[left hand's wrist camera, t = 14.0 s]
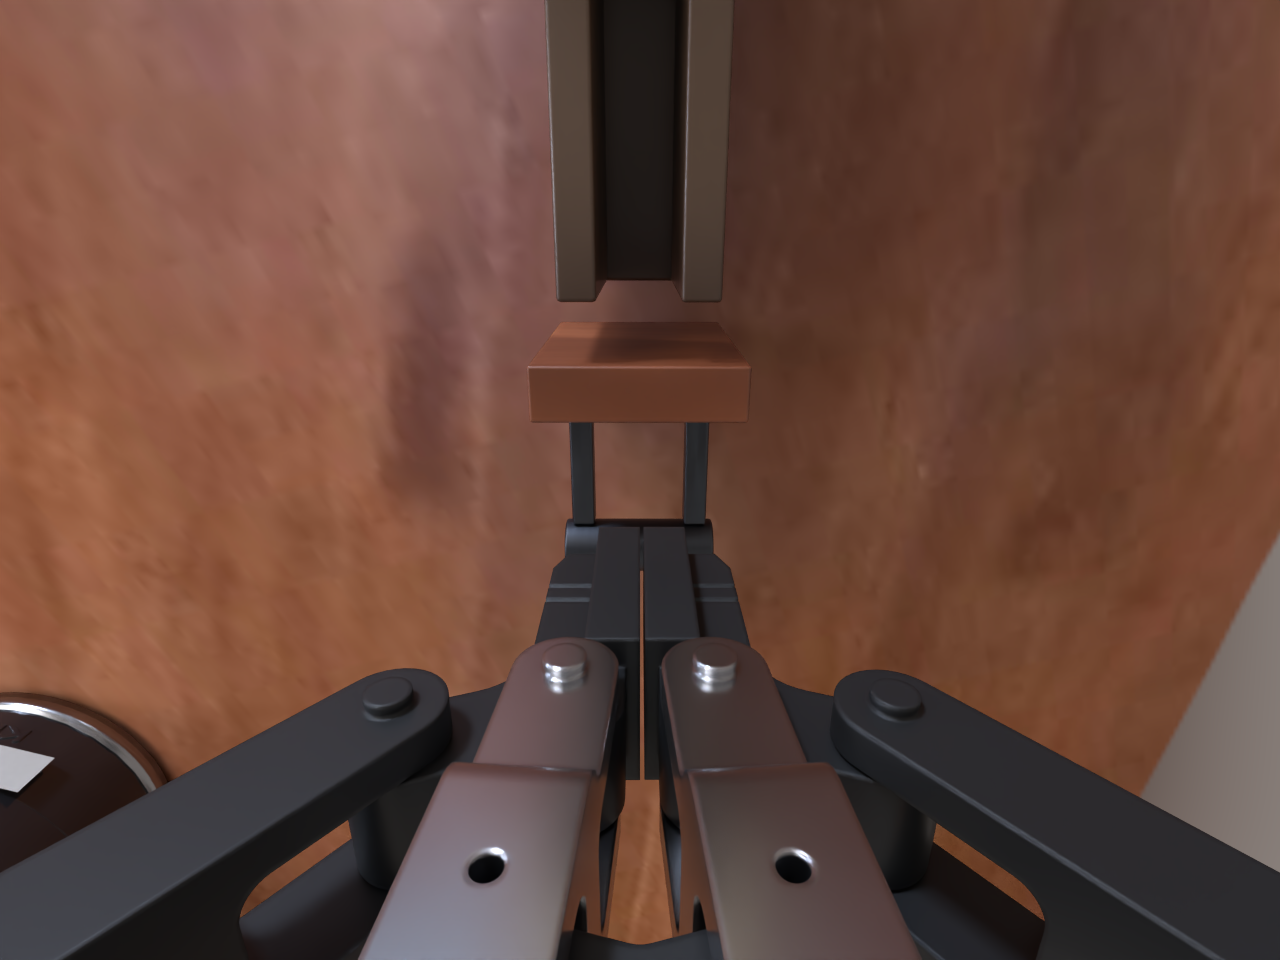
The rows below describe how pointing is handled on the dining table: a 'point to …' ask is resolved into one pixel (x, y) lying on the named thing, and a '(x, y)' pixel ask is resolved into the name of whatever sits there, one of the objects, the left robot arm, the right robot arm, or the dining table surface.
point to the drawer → (639, 236)
